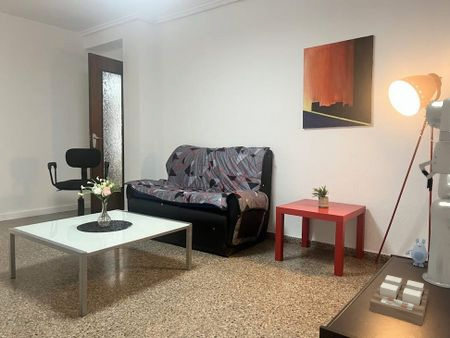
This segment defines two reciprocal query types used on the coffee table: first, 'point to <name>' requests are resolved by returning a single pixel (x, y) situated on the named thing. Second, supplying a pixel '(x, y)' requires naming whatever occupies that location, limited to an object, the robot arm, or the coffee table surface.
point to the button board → (399, 306)
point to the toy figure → (418, 253)
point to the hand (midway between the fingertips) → (448, 192)
